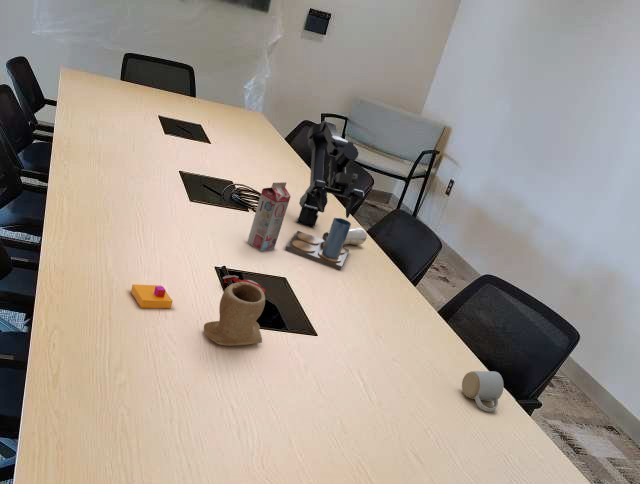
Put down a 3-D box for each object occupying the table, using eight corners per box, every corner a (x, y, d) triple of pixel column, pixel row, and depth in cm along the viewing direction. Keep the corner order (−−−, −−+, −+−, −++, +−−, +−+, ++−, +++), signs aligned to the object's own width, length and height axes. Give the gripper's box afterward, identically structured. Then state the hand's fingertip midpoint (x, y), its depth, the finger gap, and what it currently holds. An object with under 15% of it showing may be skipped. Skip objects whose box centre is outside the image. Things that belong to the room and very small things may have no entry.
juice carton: (273, 249, 225) (293, 186, 214) (261, 251, 221) (280, 186, 209) (260, 240, 228) (278, 178, 217) (247, 242, 224) (265, 178, 212)
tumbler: (318, 253, 229) (330, 218, 223) (327, 250, 234) (339, 216, 227) (333, 260, 227) (345, 226, 221) (341, 257, 232) (354, 224, 225)
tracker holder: (257, 281, 196) (274, 290, 188) (251, 295, 197) (268, 305, 189) (222, 269, 189) (239, 278, 181) (217, 284, 190) (233, 293, 182)
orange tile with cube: (140, 307, 165) (144, 292, 163) (130, 292, 170) (133, 277, 168) (170, 308, 169) (174, 293, 167) (159, 293, 175) (163, 278, 172)
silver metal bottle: (369, 243, 252) (334, 244, 239) (355, 246, 257) (320, 247, 244) (368, 226, 251) (332, 226, 238) (354, 229, 256) (318, 229, 243)
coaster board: (285, 249, 228) (286, 244, 227) (296, 234, 245) (298, 229, 244) (340, 270, 226) (342, 265, 226) (348, 253, 244) (349, 248, 243)
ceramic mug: (455, 387, 177) (468, 363, 173) (480, 389, 180) (493, 366, 176) (476, 412, 169) (490, 387, 165) (501, 414, 172) (516, 390, 168)
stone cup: (217, 354, 157) (233, 298, 149) (197, 327, 165) (211, 273, 157) (271, 352, 165) (289, 299, 157) (249, 327, 173) (266, 275, 165)
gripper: (322, 156, 224) (319, 199, 221) (372, 168, 229) (370, 210, 226) (309, 171, 234) (306, 213, 231) (357, 183, 240) (355, 224, 237)
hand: (335, 214), depth 231 cm, fingers open, 9 cm apart
